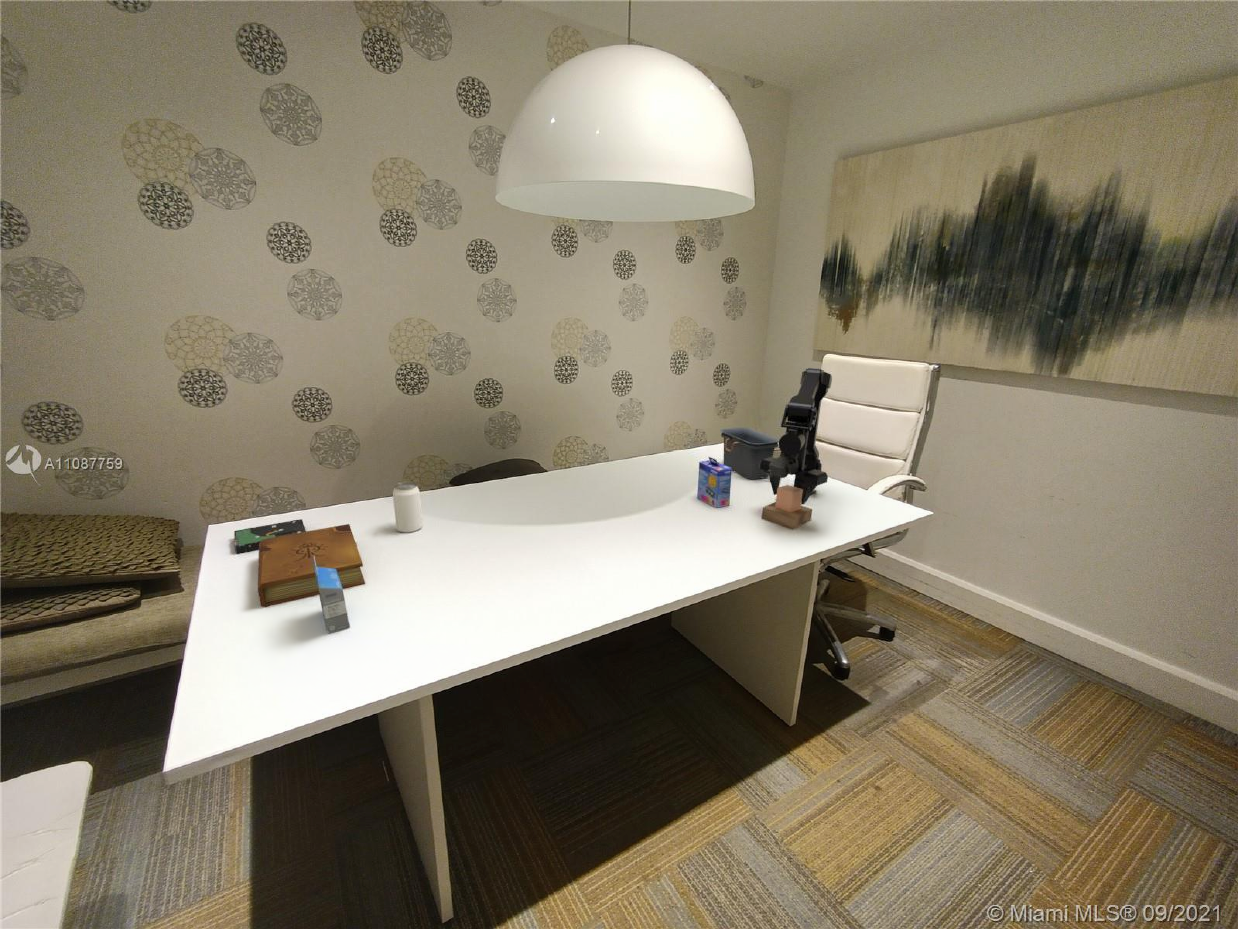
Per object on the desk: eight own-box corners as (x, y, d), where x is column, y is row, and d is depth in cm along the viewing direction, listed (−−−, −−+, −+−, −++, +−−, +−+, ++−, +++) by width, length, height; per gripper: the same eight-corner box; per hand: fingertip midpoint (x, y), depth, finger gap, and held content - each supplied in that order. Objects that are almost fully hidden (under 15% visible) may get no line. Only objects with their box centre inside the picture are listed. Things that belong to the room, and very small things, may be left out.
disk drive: (303, 528, 142) (235, 540, 133) (302, 518, 141) (233, 530, 132) (308, 542, 134) (236, 556, 125) (307, 532, 133) (234, 545, 125)
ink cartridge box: (695, 498, 169) (698, 454, 165) (709, 495, 172) (712, 452, 168) (715, 508, 161) (719, 462, 157) (729, 505, 164) (734, 460, 160)
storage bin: (779, 479, 190) (784, 440, 186) (744, 484, 184) (748, 444, 179) (742, 462, 208) (745, 426, 204) (709, 466, 202) (712, 429, 198)
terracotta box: (785, 503, 157) (787, 484, 155) (800, 509, 153) (802, 489, 151) (775, 507, 154) (777, 487, 152) (790, 512, 150) (792, 492, 148)
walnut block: (779, 511, 161) (781, 499, 160) (810, 521, 155) (812, 509, 153) (761, 520, 155) (762, 507, 154) (792, 531, 148) (794, 517, 147)
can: (427, 528, 142) (423, 485, 139) (403, 535, 138) (399, 491, 134) (415, 521, 146) (411, 479, 143) (392, 528, 142) (387, 485, 138)
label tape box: (350, 628, 99) (342, 569, 96) (325, 635, 97) (316, 574, 93) (343, 606, 106) (335, 549, 103) (320, 611, 104) (311, 554, 100)
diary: (262, 562, 123) (258, 539, 122) (352, 545, 133) (349, 523, 131) (261, 610, 105) (256, 583, 103) (365, 585, 114) (362, 561, 113)
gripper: (749, 443, 150) (744, 495, 155) (808, 459, 136) (801, 516, 141) (774, 437, 157) (768, 487, 161) (832, 452, 143) (824, 507, 148)
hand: (788, 499), depth 153 cm, fingers open, 9 cm apart
